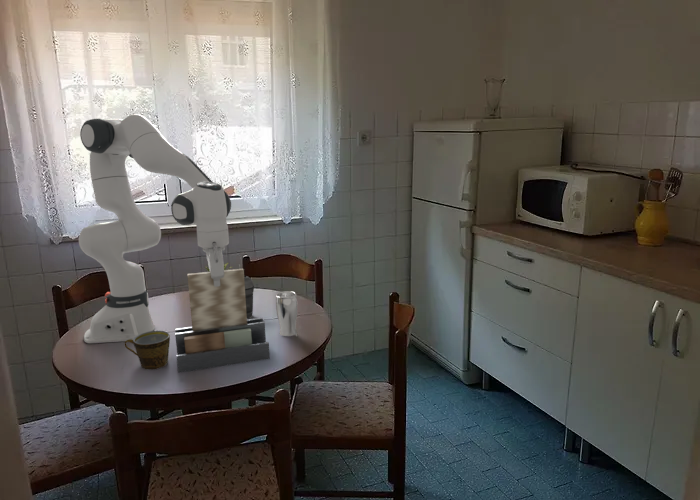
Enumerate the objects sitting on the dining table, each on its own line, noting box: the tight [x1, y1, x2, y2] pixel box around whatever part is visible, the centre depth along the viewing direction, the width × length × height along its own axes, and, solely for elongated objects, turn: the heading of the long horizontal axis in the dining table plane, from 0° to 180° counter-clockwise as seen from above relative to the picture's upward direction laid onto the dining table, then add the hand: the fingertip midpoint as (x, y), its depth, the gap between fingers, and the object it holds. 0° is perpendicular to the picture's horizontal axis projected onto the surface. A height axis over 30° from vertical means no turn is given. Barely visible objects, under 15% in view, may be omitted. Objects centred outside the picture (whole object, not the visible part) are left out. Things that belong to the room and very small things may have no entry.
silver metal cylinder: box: [275, 290, 298, 338], centre depth 172 cm, size 7×7×15 cm
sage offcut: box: [224, 328, 252, 348], centre depth 156 cm, size 9×2×8 cm, turn 108°
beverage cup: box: [238, 263, 255, 320], centre depth 191 cm, size 7×7×20 cm
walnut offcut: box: [184, 332, 225, 354], centre depth 151 cm, size 11×2×9 cm, turn 108°
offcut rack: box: [174, 317, 271, 373], centre depth 155 cm, size 26×11×10 cm, turn 108°
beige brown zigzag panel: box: [187, 268, 248, 331], centre depth 156 cm, size 16×2×20 cm, turn 108°
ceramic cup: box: [124, 330, 171, 371], centre depth 152 cm, size 13×10×10 cm
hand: (216, 284), depth 154 cm, fingers closed on beige brown zigzag panel, 1 cm apart
